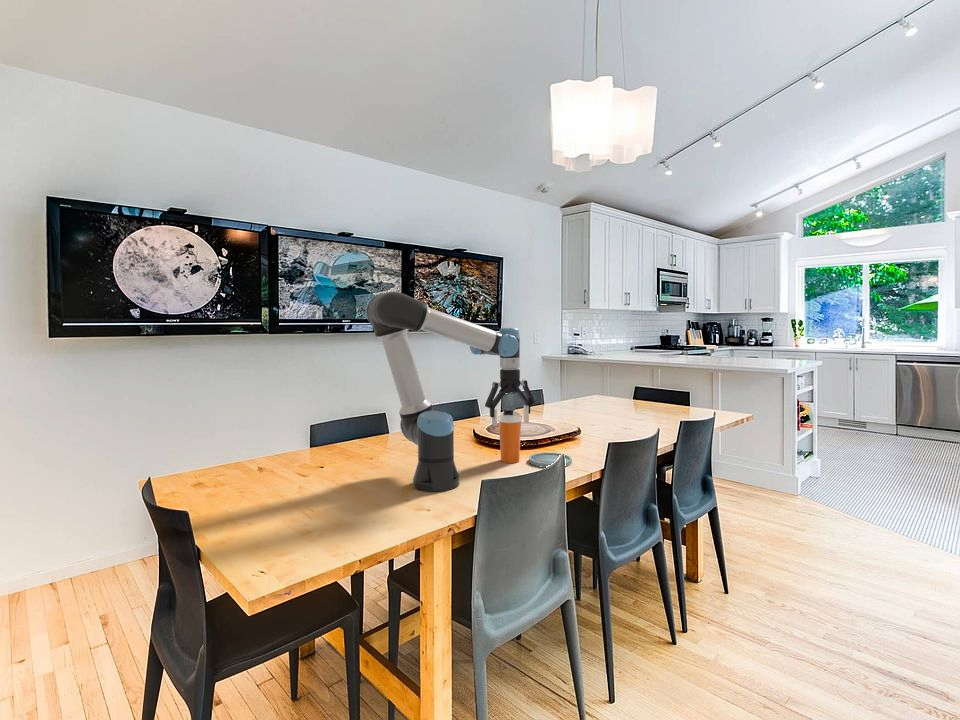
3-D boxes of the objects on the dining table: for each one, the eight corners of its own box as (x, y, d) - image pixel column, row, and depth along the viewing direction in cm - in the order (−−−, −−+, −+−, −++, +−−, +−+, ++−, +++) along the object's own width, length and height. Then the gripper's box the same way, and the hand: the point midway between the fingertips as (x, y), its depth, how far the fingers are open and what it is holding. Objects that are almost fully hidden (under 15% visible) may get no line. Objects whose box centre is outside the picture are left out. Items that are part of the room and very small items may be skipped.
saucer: (542, 470, 183) (542, 465, 183) (521, 459, 198) (521, 455, 198) (580, 464, 190) (580, 460, 190) (556, 454, 204) (556, 450, 204)
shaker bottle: (521, 457, 200) (521, 407, 198) (521, 464, 191) (521, 411, 189) (499, 457, 201) (499, 407, 199) (497, 463, 192) (497, 411, 190)
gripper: (484, 371, 185) (484, 429, 186) (543, 367, 195) (543, 422, 196) (475, 369, 192) (476, 425, 193) (533, 366, 202) (534, 419, 203)
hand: (510, 424), depth 195 cm, fingers open, 13 cm apart
